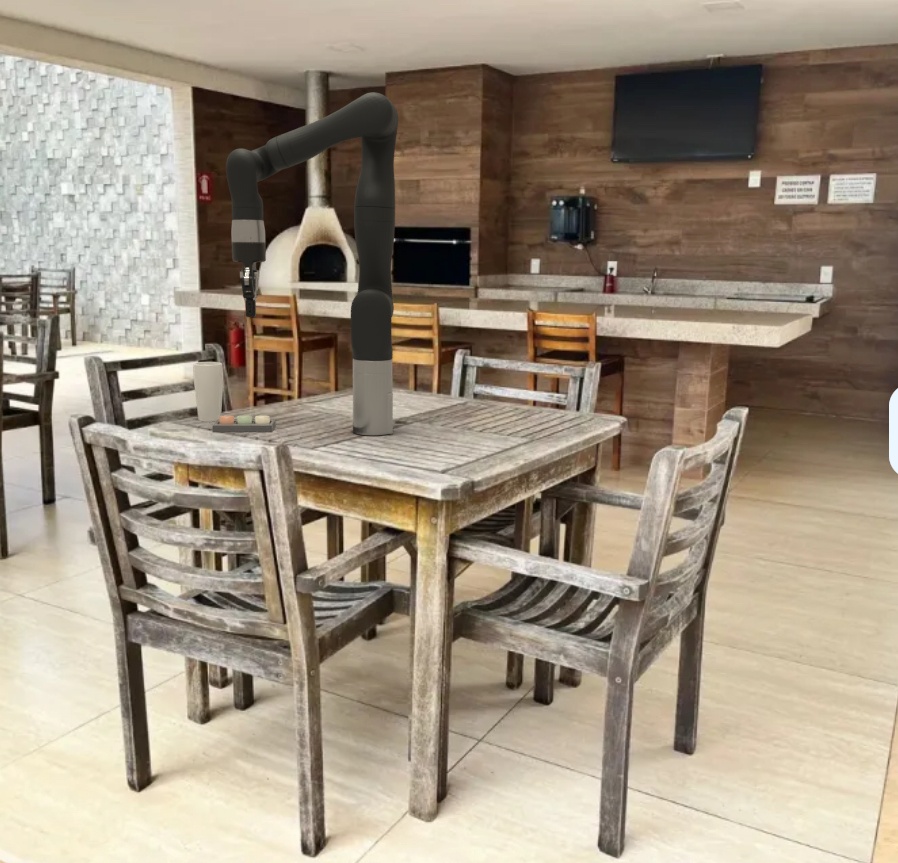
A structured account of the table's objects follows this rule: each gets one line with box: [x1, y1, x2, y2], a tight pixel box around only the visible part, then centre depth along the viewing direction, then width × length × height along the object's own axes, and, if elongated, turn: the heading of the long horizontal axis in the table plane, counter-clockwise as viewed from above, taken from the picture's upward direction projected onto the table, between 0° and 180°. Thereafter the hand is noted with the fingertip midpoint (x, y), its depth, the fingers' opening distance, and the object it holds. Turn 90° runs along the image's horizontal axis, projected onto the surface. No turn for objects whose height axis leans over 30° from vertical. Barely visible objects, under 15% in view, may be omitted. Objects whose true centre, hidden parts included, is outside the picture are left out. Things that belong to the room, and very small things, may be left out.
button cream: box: [254, 414, 271, 424], centre depth 203 cm, size 3×3×4 cm
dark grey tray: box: [212, 418, 276, 433], centre depth 203 cm, size 13×8×3 cm, turn 95°
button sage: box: [237, 414, 253, 424], centre depth 203 cm, size 3×3×4 cm
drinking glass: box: [192, 361, 224, 422], centre depth 213 cm, size 7×7×15 cm
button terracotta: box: [219, 414, 235, 424], centre depth 203 cm, size 3×3×4 cm
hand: (251, 316), depth 207 cm, fingers closed
